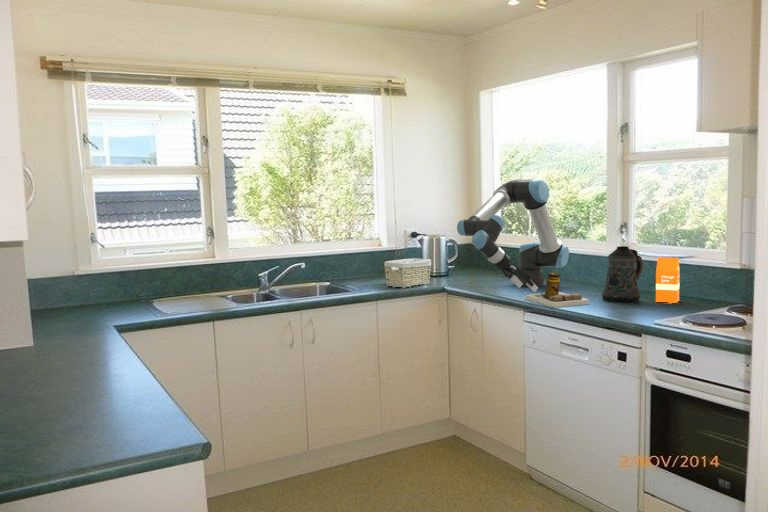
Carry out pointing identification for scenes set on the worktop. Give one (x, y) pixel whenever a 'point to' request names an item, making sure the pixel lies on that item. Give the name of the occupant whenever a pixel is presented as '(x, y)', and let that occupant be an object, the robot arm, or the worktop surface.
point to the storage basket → (407, 272)
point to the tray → (556, 304)
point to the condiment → (551, 285)
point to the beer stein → (623, 276)
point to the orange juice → (667, 280)
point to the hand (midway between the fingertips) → (528, 287)
